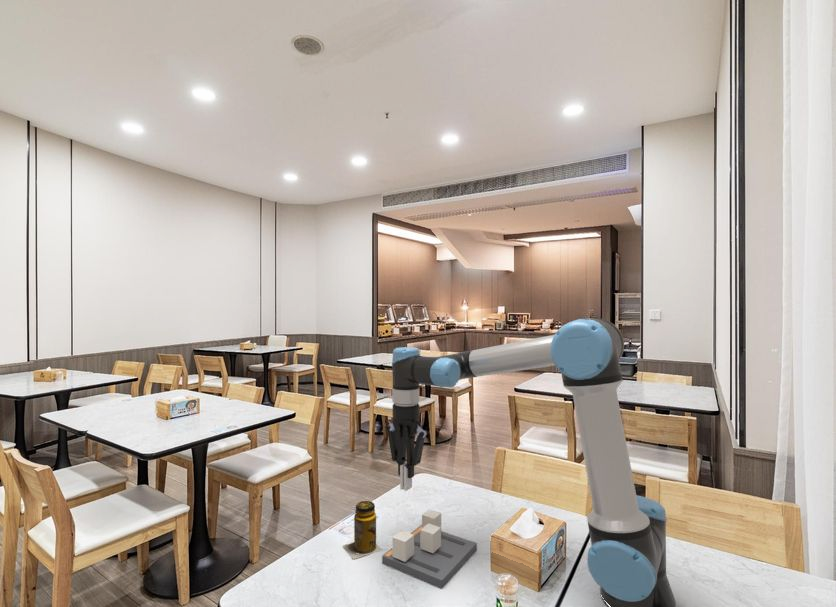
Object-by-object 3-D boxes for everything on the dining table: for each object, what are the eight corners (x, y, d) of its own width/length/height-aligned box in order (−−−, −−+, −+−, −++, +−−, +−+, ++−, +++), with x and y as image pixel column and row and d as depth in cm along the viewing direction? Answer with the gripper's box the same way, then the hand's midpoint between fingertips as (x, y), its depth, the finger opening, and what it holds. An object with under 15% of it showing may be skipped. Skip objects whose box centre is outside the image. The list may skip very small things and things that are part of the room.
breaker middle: (441, 546, 114) (440, 527, 114) (433, 553, 111) (433, 534, 111) (428, 541, 116) (428, 523, 116) (420, 548, 113) (420, 529, 113)
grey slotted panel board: (476, 550, 116) (476, 542, 116) (441, 588, 100) (441, 580, 100) (421, 531, 126) (421, 524, 126) (382, 563, 110) (382, 555, 110)
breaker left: (414, 554, 110) (414, 534, 110) (405, 561, 107) (405, 541, 107) (401, 549, 112) (401, 530, 112) (392, 556, 109) (392, 537, 109)
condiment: (381, 549, 117) (381, 506, 117) (353, 560, 112) (353, 514, 112) (369, 537, 123) (369, 496, 123) (342, 547, 118) (342, 503, 118)
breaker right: (441, 530, 122) (441, 512, 122) (434, 536, 119) (434, 518, 119) (429, 526, 124) (429, 509, 124) (422, 532, 121) (422, 514, 121)
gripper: (433, 403, 117) (434, 489, 117) (394, 397, 125) (394, 478, 125) (419, 409, 111) (419, 499, 111) (378, 402, 119) (378, 487, 118)
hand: (406, 488), depth 118 cm, fingers closed
